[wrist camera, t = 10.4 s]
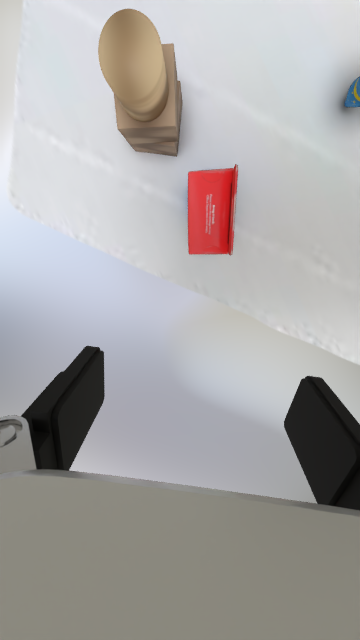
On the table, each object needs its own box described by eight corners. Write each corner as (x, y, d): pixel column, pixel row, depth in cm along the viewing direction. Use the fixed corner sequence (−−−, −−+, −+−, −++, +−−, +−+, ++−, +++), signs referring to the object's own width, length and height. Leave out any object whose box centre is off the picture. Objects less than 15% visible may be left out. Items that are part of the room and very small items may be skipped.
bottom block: (182, 102, 30) (180, 81, 26) (177, 156, 33) (174, 145, 28) (137, 96, 30) (127, 74, 26) (135, 151, 33) (125, 139, 28)
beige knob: (171, 57, 21) (165, 13, 17) (166, 125, 23) (159, 101, 19) (118, 51, 21) (97, 5, 17) (117, 119, 23) (99, 94, 19)
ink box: (189, 185, 34) (185, 161, 20) (222, 184, 34) (241, 158, 20) (189, 245, 37) (187, 259, 24) (220, 244, 37) (235, 258, 23)
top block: (177, 75, 25) (173, 43, 21) (178, 141, 28) (175, 125, 23) (124, 78, 26) (109, 48, 21) (130, 143, 28) (117, 129, 24)
